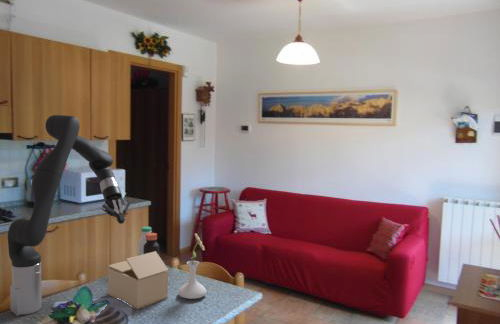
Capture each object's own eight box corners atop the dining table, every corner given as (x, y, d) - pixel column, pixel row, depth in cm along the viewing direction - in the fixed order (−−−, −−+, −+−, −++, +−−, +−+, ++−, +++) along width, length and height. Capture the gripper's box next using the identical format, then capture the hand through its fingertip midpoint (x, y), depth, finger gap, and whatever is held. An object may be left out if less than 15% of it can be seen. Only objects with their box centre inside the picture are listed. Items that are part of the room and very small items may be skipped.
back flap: (122, 272, 155) (122, 271, 154) (108, 266, 161) (108, 265, 161) (151, 264, 165) (151, 263, 165) (137, 259, 171) (137, 257, 171)
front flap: (138, 279, 148) (139, 278, 148) (125, 259, 153) (126, 258, 152) (167, 270, 158) (168, 269, 158) (155, 252, 163) (155, 251, 163)
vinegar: (160, 275, 184) (161, 232, 183) (155, 281, 177) (156, 236, 176) (146, 274, 185) (146, 232, 183) (141, 280, 178) (141, 235, 176)
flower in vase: (201, 303, 156) (202, 239, 154) (173, 300, 158) (174, 237, 156) (211, 290, 168) (212, 231, 166) (185, 287, 171) (186, 229, 169)
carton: (137, 309, 149) (137, 280, 148) (108, 294, 161) (108, 267, 161) (167, 298, 159) (167, 271, 159) (137, 285, 172) (138, 259, 171)
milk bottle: (144, 272, 188) (145, 230, 186) (134, 268, 192) (134, 227, 191) (157, 268, 194) (158, 227, 192) (147, 264, 199) (147, 224, 197)
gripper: (97, 185, 172) (109, 219, 163) (127, 184, 180) (139, 215, 172) (93, 196, 176) (104, 229, 167) (122, 194, 185) (134, 225, 176)
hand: (122, 222), depth 170 cm, fingers closed
